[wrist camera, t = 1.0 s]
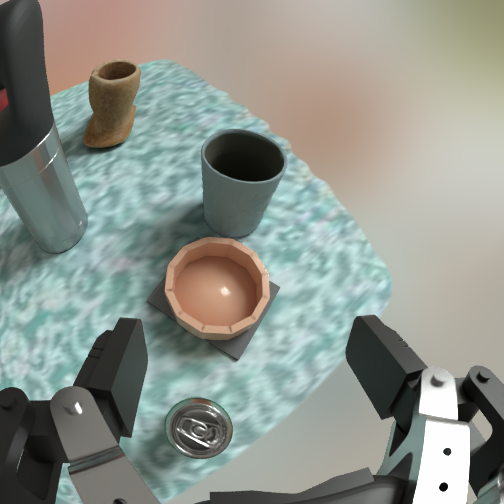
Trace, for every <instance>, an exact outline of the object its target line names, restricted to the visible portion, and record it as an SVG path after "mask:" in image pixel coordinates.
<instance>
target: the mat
mask: <svg viewBox="0 0 504 504" xmlns="http://www.w3.org/2000/svg"><path fill="white" fill-rule="evenodd" d="M197 240H200V239H199V238H196V239H195V240H194V242H195V241H197ZM166 276H167V275H166ZM166 276H165V277H164V279H163V280H162V281H161V283H160V284H159V285H158V286H157V288H156V289H155V290H154V292H153V293H152V294H151V295H150V297H149V298H148V299H147V301H148V302H149V303H151V304H152V305H153V306H155V307H156V308H158V309H159V310H160V311H162V312H163V313H165V314H166V315H168V316H169V317H171V318H172V319H174V320H175V321H176V322H177V320H176V318H175V317H174V315H173V313H172V310H171V308H170V306H169V304H168V302H167V298H166V294H165V284H166ZM279 289H280V287H279V286H277V285H276V284H274V283H272V282H271V281H269V291H270V299H269V301H268V302H267V304H266V306H265V308H264V309H263V311H262V313H261V314H260V316H259V318H258V320H257V321H256V322H255V324H254V325H253V326H252V327H251V328H250V329H248V330H246V331H245V332H243V333H242V334H240V335H238V336H236V337H233V338H231V339H229V340H207V339H204V340H206V341H207V342H209V343H210V344H212V345H214V346H215V347H217V348H219V349H220V350H222V351H224V352H225V353H227V354H229V355H230V356H232V357H234V358H235V359H237V360H239V359H240V357H241V355H242V354H243V352H244V350H245V348H246V347H247V345H248V343H249V342H250V340H251V338H252V337H253V335H254V333H255V331H256V330H257V328H258V326H259V324H260V323H261V321H262V319H263V317H264V316H265V314H266V312H267V310H268V309H269V307H270V305H271V303H272V302H273V300H274V298H275V296H276V294H277V293H278V291H279Z"/></svg>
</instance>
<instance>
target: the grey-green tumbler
mask: <svg viewBox="0 0 504 504" xmlns="http://www.w3.org/2000/svg"><path fill="white" fill-rule="evenodd" d="M201 161H202V176H203V177H202V181H203V190H204V191H203V203H204V206H203V208H204V217H205V220H206V222H207V224H208V225H209V227H210V228H211V229H212V230H214V231H215V232H217V233H218V234H221V235H223V236H225V237H233V238H234V237H236V238H239V237H241V236H242V237H243V236H246V235H248V234H250V233H251V232H253V231H254V230H255V229H256V228H257V227H258V225H259V223H260V221H261V219H262V217H263V215H264V211H265V210H266V208H267V206H268V204H269V202H270V200H271V198H272V195H273V193H274V192H275V190H276V188H277V186H278V184H279V182H280V180H281V178H282V176H283V175H284V173H285V171H286V168H287V157H286V154H285V152H284V150H283V149H282V148H281V146H280V145H279V144H278V143H276V142H275V141H274V140H272V139H271V138H269V137H268V136H266V135H263V134H260V133H257V132H254V131H251V130H246V129H227V130H223V131H219V132H217V133H215V134H213V135H211V136H210V137H209V138H208V139H207V140H206V141H205V142H204V144H203V146H202V149H201Z"/></svg>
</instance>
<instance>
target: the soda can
mask: <svg viewBox="0 0 504 504" xmlns="http://www.w3.org/2000/svg"><path fill="white" fill-rule="evenodd" d="M165 433H166V436H167V439H168V441H169V442H170V444H171V445H172V446H173V447H174V448H175V449H176V450H177V451H178V452H180V453H181V454H183V455H185V456H187V457H190V458H195V459H207V458H211V457H214V456H216V455H218V454H220V453H221V452H223V451H224V450H225V449H226V448H227V446H228V445H229V443H230V441H231V438H232V434H233V426H232V422H231V419H230V417H229V415H228V414H227V412H226V411H225V410H224V409H223V408H222V407H221V406H220V405H218V404H217V403H215V402H213V401H211V400H208V399H205V398H202V397H190V398H187V399H185V400H183V401H181V402H179V403H177V404H176V405H175V406H174V407H172V409H171V410H170V411H169V413H168V415H167V417H166V420H165Z"/></svg>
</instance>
